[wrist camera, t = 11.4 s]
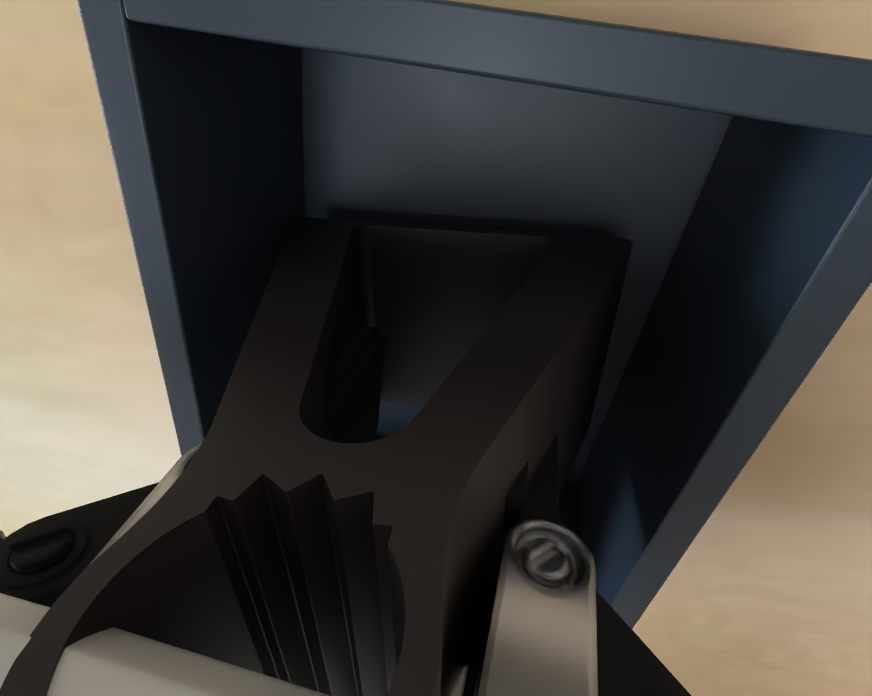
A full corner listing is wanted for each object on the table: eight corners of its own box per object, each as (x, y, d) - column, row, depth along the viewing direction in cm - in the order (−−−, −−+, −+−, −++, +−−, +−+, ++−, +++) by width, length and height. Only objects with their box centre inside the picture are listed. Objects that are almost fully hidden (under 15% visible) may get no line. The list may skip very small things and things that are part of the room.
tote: (776, 77, 11) (1015, 79, 5) (589, 491, 19) (606, 668, 13) (282, 5, 12) (62, -54, 7) (298, 418, 20) (202, 550, 14)
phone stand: (322, 387, 16) (-44, 919, 6) (298, 214, 13) (-547, 709, 3) (587, 421, 15) (698, 1189, 5) (631, 237, 12) (1275, 1344, 1)
